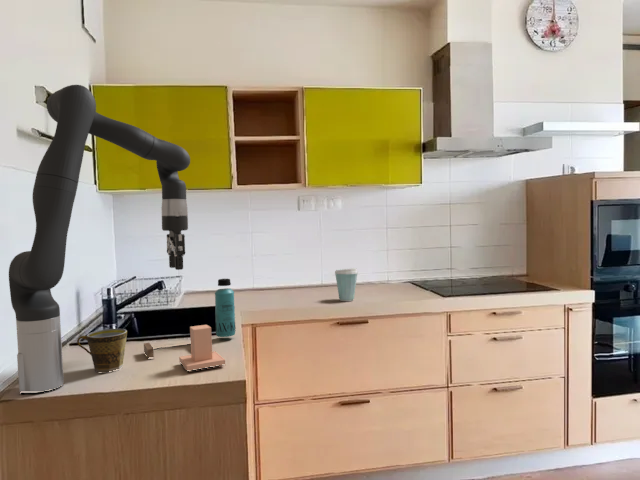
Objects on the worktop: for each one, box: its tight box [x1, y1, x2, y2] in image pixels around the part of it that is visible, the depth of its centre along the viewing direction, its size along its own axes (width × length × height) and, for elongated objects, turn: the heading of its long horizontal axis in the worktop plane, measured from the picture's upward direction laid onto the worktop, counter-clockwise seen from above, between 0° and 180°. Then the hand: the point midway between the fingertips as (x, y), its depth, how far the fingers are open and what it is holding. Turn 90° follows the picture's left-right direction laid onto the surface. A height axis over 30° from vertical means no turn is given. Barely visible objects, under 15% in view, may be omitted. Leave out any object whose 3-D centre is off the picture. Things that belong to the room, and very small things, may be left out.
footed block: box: [178, 324, 226, 370], centre depth 134 cm, size 10×10×10 cm
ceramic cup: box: [76, 328, 128, 373], centre depth 134 cm, size 13×10×10 cm
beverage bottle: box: [214, 278, 237, 338], centre depth 163 cm, size 6×7×20 cm
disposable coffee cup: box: [334, 267, 359, 302], centre depth 230 cm, size 11×11×15 cm
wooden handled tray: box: [143, 342, 155, 358], centre depth 149 cm, size 16×8×3 cm, turn 117°
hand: (176, 268), depth 150 cm, fingers open, 8 cm apart
